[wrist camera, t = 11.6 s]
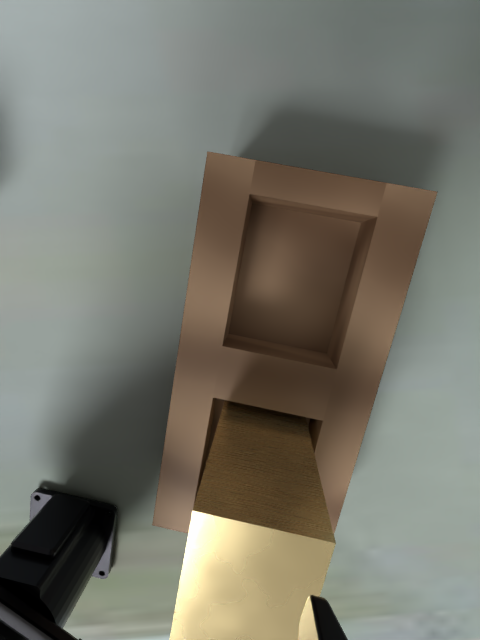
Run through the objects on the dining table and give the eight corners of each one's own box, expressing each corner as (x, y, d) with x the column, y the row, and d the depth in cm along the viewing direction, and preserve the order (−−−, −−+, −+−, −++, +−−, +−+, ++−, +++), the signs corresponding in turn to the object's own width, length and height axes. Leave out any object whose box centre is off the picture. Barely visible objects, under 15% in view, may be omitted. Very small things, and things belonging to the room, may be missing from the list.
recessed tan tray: (312, 502, 22) (324, 565, 17) (174, 472, 22) (152, 525, 18) (394, 208, 18) (437, 191, 13) (221, 177, 18) (207, 151, 14)
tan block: (281, 491, 20) (293, 682, 11) (211, 475, 20) (167, 651, 11) (302, 405, 18) (335, 543, 10) (227, 389, 18) (192, 510, 10)
